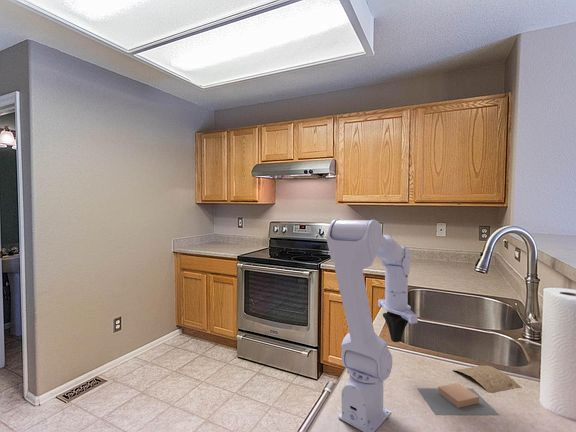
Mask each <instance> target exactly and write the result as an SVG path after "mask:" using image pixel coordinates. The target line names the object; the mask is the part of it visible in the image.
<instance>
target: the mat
mask: <svg viewBox="0 0 576 432" xmlns="http://www.w3.org/2000/svg"><path fill="white" fill-rule="evenodd" d="M466 388H467V387H466ZM416 389H417V391H418V392H419V394H420V395H421V396H422V398H423V399H424V401H425V403H426V404H427V405H428V407H429V408H430V409H431V411H432V412H433V413H434V415H435V416H500V413H499V412H498V411H496V410H495V409H494V408H493V406H491V405H490V404H489V403H488V402H487V401H486V400H485V399H484V398H483V397H482V396H481V395H480V394H479V393H478V392H477V391H476V390H475V389H474V388H472V387H471V388H467V389H468V390H470V391H471V392H473V393H474V394H476V395H477V396H479V403H478V404H473V405H469V406H465V407H460V408H458V407H456V406H455V405H454V404H452V403H451V402H450V401H448V400H447V399H446V398H444V397H443V396H442V395H440V394H439V393H438V387H436V388H435V387H434V388H433V387H431V388H430V387H429V388H426V387H425V388H422V387H420V388H419V387H418V388H416Z"/></svg>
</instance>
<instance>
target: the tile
mask: <svg viewBox="0 0 576 432" xmlns="http://www.w3.org/2000/svg"><path fill="white" fill-rule="evenodd" d="M437 388H438V393H439V394H440V395H442V396H443V397H444V398H446V399H447V400H448V401H450V402H451V403H452V404H454V405H455V406H456V407H458V408H460V407H465V406H469V405H473V404H478V403H479V396H477V395H476V394H474V393H473V392H471V391H470V390H468V389H467V387H465V386H464V385H462V384H461V383H459V382H455V383H451V384H446V385H441V386H438V387H437Z"/></svg>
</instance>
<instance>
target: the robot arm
mask: <svg viewBox="0 0 576 432" xmlns="http://www.w3.org/2000/svg"><path fill="white" fill-rule="evenodd" d="M325 239H326V242H327V247H328V252H329V256H330V260H331V262H332V263H333V264H334V271H335V275H336V280H337V281H336V282H337V284H338V290H339V293H340V298H341V301H342V302H341V303H342V307H343V312H344V316H345V320H346V325H347V329H348V333H347V334H346V335H345V336H344V337H343V340H342V343H341V345H340V347H341V362H342V366H343V367H344V368H346V373H347V374H348V375H349V377H348V379H347V380H348V381H347V382H346V384H345V385H344V386H343V387H342V389H341V412H340V413H339V414H337V415H338V416H337V417H338V419H340V420H342V421H343V422H345V423H347V424H349V425H351V427H352V426H353V427H354V428H356V429H358V430H359V431H361V432H376V430H377V429H378V428H379V427H380V426H381V425H382V424H383V423H384V422H385V421H386V420H387V419H388V417H389V416H390V415H391V414H392V411H391V410H389V409H388V408H385V407H384V381H386V380H387V379H388V378H389V377H390V375H391V372H392V368H393V355H392V353H391V351H390V350H389V348H388V343H387V342H386V341H385V340H384V339H383V338H382V337H381V336H380V335H378V334H377V333H376V332H375V328H374V323H373V319H372V313H371V308H370V303H369V297H368V292H367V288H366V282H365V277H364V272H363V270H365V269H367V268H369V267H371V266H372V265H373V263H374V261H375V259H376V257H378V258H379V259H380V260H381V264H382V266H385V267H384V298H382V299H378V300H377V306H378V308H383V309H384V310H385V311H386V312H383V313H382V317H383V318H384V320H385V323H386V325H387V329H388V331H389V336H390V340H391V341H392V342H393V343H400V342H402V338H403V335H404V331H405V329H406V326H407V325H408V324H418V321H419V319H418V316H419V315H418V314H416V313H414V312H413V310H411V309H412V307H411V305H409V304H408V300H409V298H408V297H409V295H408V294H409V292H408V291H409V283H408V282H409V281H408V279H409V276H408V275H410V272H411V262H412V253H411V252H412V251H411V249H410V248H409V247H407V246H405V245H404V246H402V245H401V244H399V243H398V242H397V241H396V240H395V239H394V238H393V236H392V235H391V234H384V235H383V229H382V226H381V223H380V222H379V221H378V220H376V219H370V220H366V219H365V220H364V219H362V220H360V219H339V218H335V219H333V220H332V221H331V222H330V224H329V226H328V229H327V233H326V236H325Z"/></svg>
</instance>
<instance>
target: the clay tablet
mask: <svg viewBox="0 0 576 432" xmlns="http://www.w3.org/2000/svg"><path fill="white" fill-rule="evenodd" d="M453 371H457V372H459V373H463V375H467V376H468V377H471V378H472V379H473V380H474V381H476V382H477V383H479V385H481V386H482V387H483V389H485V390H486V391H487V392H488V393H489V394H495V393H499V392H506V391H510V390H514V389H522V386H521V385H519V384H518V383H517V381H516V380H515V379H514V378H512V377H510V376H509V375H508V374H506V373H504V372H502V371H501V369H497V368H496V367H493V366H490V365H477V366H471V367H466V368H459V369H453V370H452V371H451V372H453Z"/></svg>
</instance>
